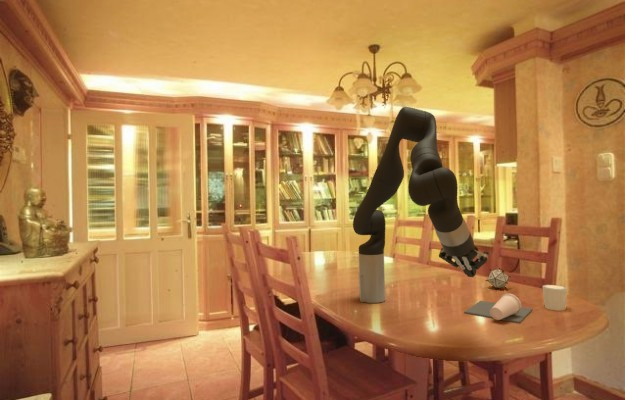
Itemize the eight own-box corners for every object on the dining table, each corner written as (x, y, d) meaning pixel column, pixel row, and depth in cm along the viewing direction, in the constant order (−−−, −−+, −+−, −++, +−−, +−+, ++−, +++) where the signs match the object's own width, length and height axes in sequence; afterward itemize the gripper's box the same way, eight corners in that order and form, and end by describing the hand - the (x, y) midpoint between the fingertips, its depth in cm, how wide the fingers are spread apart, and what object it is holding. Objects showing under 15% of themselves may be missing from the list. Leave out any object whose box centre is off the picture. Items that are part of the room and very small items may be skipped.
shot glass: (560, 312, 116) (559, 290, 116) (538, 307, 122) (537, 286, 122) (572, 309, 119) (571, 287, 119) (550, 304, 125) (549, 283, 125)
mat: (519, 323, 107) (519, 321, 107) (464, 313, 118) (464, 311, 118) (532, 310, 119) (532, 308, 119) (480, 301, 130) (480, 300, 130)
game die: (503, 298, 146) (516, 281, 141) (482, 290, 148) (493, 273, 142) (502, 283, 154) (513, 266, 148) (481, 275, 155) (492, 259, 149)
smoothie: (511, 323, 105) (531, 308, 114) (502, 301, 106) (523, 287, 115) (490, 325, 110) (511, 310, 119) (482, 304, 111) (503, 290, 120)
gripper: (484, 223, 89) (500, 265, 98) (432, 221, 98) (451, 260, 107) (477, 247, 85) (494, 289, 95) (423, 243, 94) (444, 282, 103)
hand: (471, 274), depth 101 cm, fingers closed
